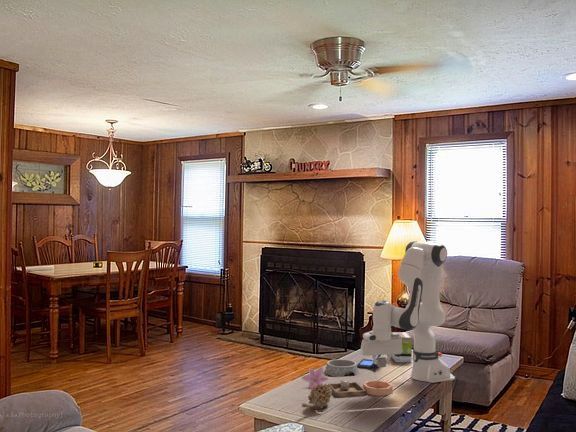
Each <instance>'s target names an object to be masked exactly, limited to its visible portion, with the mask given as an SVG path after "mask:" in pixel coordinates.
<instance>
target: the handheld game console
mask: <svg viewBox="0 0 576 432" xmlns="http://www.w3.org/2000/svg"><path fill="white" fill-rule="evenodd" d="M378 357H382V355H377V356H376V357H375V358H376V360H378ZM356 364H357V363H356ZM375 366H377V364H374V359H368V358H363V359H361V360H360V362H358V364H357V368H358V369H365V370H366V369H367V370H373V369H374V368H375Z"/></svg>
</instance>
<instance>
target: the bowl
mask: <svg viewBox="0 0 576 432" xmlns="http://www.w3.org/2000/svg"><path fill="white" fill-rule="evenodd" d="M393 387H394V385H393V384H391V382H388V381H384V380H378V379H377V380H367V381H365V382H363V383H362V388H364V389H365V390H366V395H367V394H368V395H372V396H379V397H381V396H389V395H391V394H392V395H393V392H394V389H393Z"/></svg>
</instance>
